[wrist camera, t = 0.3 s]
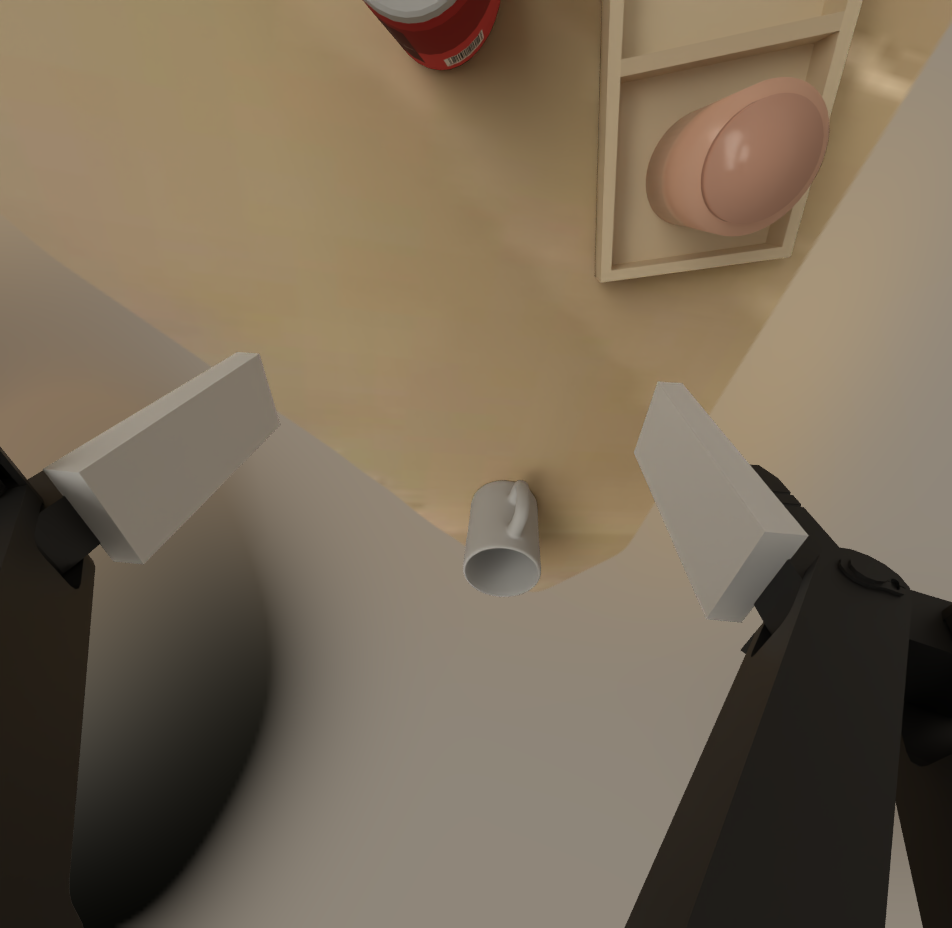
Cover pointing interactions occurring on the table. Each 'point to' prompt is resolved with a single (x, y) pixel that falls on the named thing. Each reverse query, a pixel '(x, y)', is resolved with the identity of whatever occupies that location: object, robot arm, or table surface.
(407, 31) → the canned food
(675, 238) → the divided tray
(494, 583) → the mug
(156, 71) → the table surface
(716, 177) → the jar
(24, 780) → the robot arm
